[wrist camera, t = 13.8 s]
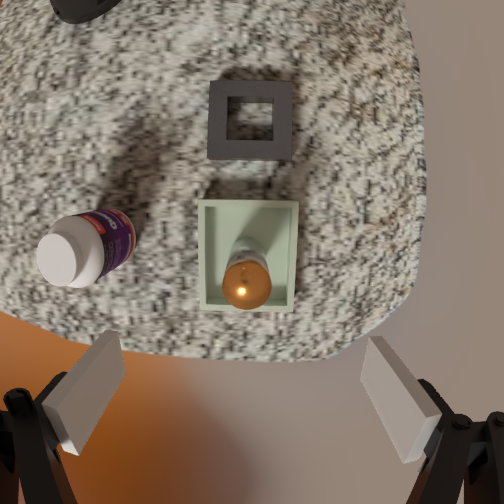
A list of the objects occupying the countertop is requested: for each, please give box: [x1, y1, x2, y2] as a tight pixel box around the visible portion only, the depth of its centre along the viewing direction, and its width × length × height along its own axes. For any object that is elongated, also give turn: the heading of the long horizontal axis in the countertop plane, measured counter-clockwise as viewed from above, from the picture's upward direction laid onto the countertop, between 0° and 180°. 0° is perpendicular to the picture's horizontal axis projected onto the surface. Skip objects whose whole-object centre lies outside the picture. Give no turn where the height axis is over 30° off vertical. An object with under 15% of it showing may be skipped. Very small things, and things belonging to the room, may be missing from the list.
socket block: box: [207, 80, 292, 162], centre depth 35 cm, size 10×10×3 cm
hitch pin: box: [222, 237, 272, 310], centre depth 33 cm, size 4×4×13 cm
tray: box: [198, 199, 299, 312], centre depth 39 cm, size 14×12×3 cm
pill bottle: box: [37, 208, 136, 288], centre depth 33 cm, size 8×8×14 cm
